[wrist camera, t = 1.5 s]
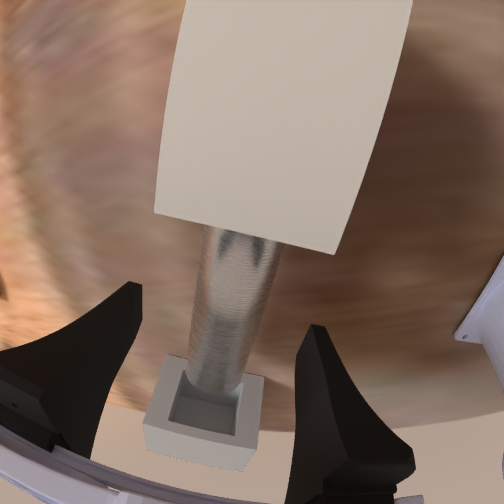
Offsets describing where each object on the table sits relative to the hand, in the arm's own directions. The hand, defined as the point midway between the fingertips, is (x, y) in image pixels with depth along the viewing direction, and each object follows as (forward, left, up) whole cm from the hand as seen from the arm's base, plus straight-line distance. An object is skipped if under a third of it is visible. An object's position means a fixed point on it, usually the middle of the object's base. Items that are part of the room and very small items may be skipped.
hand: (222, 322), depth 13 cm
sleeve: (0, -9, -7) cm, 11 cm away
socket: (0, +14, -7) cm, 16 cm away
